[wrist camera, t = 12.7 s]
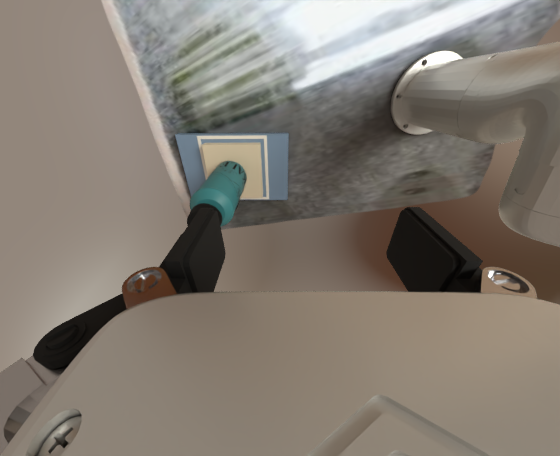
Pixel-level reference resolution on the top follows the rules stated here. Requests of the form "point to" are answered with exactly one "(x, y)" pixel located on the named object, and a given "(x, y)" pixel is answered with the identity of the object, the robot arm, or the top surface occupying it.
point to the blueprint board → (273, 159)
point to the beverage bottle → (220, 192)
